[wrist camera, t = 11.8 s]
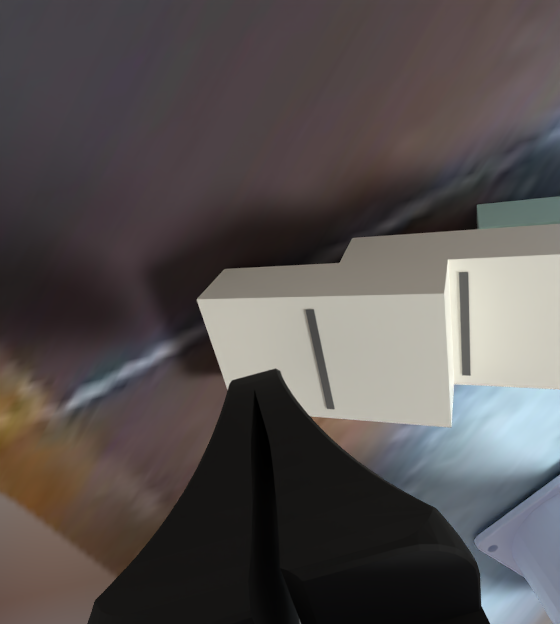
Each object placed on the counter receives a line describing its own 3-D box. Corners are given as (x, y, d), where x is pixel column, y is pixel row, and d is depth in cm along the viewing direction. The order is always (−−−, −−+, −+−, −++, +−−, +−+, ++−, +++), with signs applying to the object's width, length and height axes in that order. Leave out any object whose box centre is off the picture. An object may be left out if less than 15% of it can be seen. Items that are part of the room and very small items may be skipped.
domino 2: (357, 380, 16) (597, 392, 14) (338, 265, 14) (618, 252, 12) (368, 345, 18) (585, 349, 15) (352, 237, 16) (600, 220, 13)
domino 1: (234, 410, 16) (451, 428, 14) (195, 299, 14) (444, 294, 11) (256, 373, 18) (453, 381, 15) (224, 268, 16) (448, 256, 13)
